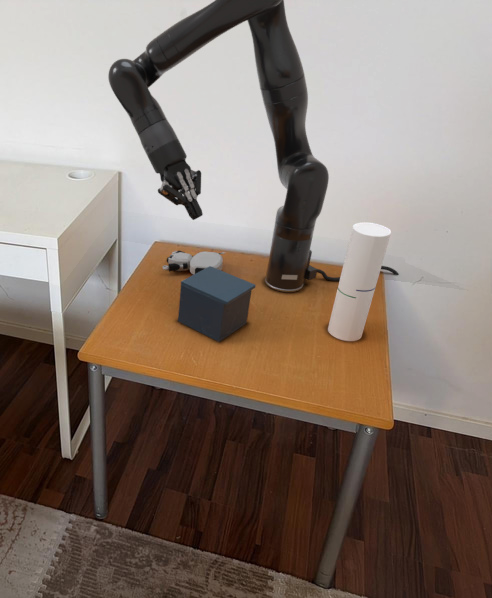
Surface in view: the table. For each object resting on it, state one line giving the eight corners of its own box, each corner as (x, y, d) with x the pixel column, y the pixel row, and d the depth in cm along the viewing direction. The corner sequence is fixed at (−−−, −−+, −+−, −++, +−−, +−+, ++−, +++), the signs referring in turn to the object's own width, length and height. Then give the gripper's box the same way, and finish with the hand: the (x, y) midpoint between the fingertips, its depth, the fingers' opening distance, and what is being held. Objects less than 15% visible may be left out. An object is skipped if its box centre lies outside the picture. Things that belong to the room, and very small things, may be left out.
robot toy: (160, 279, 152) (216, 285, 146) (159, 263, 149) (217, 269, 144) (173, 259, 161) (226, 265, 156) (172, 245, 159) (227, 250, 154)
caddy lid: (255, 287, 126) (255, 284, 126) (227, 305, 120) (227, 302, 119) (209, 268, 134) (210, 265, 133) (180, 284, 127) (181, 281, 127)
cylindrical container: (364, 342, 125) (394, 237, 112) (330, 339, 126) (356, 235, 113) (358, 325, 131) (386, 223, 118) (325, 321, 132) (349, 221, 119)
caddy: (246, 323, 131) (252, 286, 126) (219, 342, 125) (223, 303, 120) (205, 304, 139) (209, 269, 134) (177, 321, 132) (180, 284, 127)
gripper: (152, 146, 118) (190, 221, 119) (192, 131, 125) (227, 202, 126) (131, 161, 124) (167, 233, 125) (170, 146, 131) (204, 214, 132)
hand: (198, 217), depth 125 cm, fingers closed
